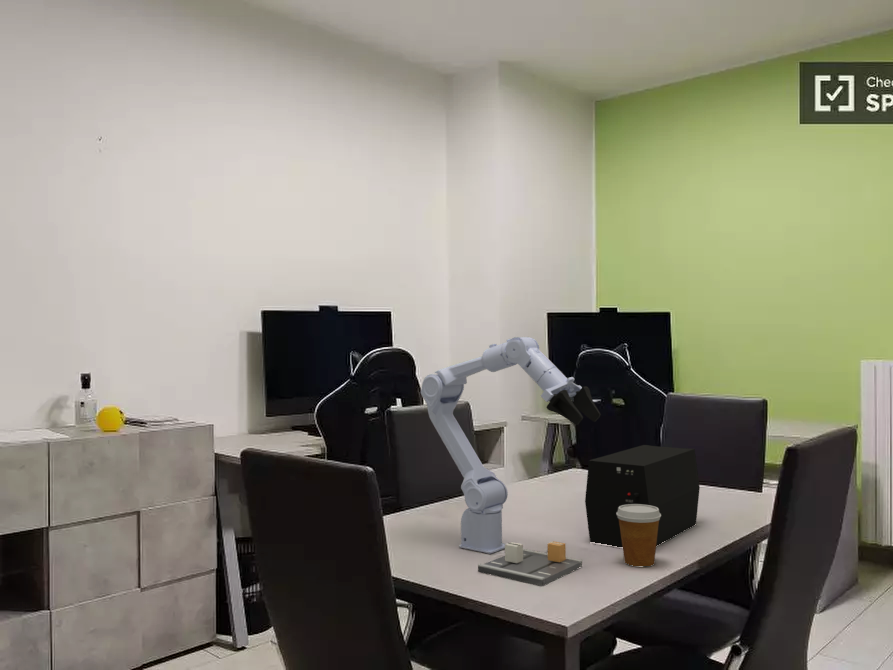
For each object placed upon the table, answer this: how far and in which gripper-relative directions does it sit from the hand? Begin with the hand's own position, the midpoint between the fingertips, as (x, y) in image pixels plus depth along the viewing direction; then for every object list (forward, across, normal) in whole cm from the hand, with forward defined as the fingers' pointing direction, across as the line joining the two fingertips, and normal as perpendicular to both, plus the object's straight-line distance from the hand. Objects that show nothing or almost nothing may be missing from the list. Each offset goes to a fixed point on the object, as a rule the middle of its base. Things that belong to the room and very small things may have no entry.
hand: (589, 419), depth 165 cm
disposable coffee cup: (+26, +10, +20) cm, 34 cm away
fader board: (+14, -8, +31) cm, 34 cm away
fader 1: (+10, -9, +32) cm, 35 cm away
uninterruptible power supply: (+19, +33, +26) cm, 47 cm away
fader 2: (+15, -3, +27) cm, 31 cm away
